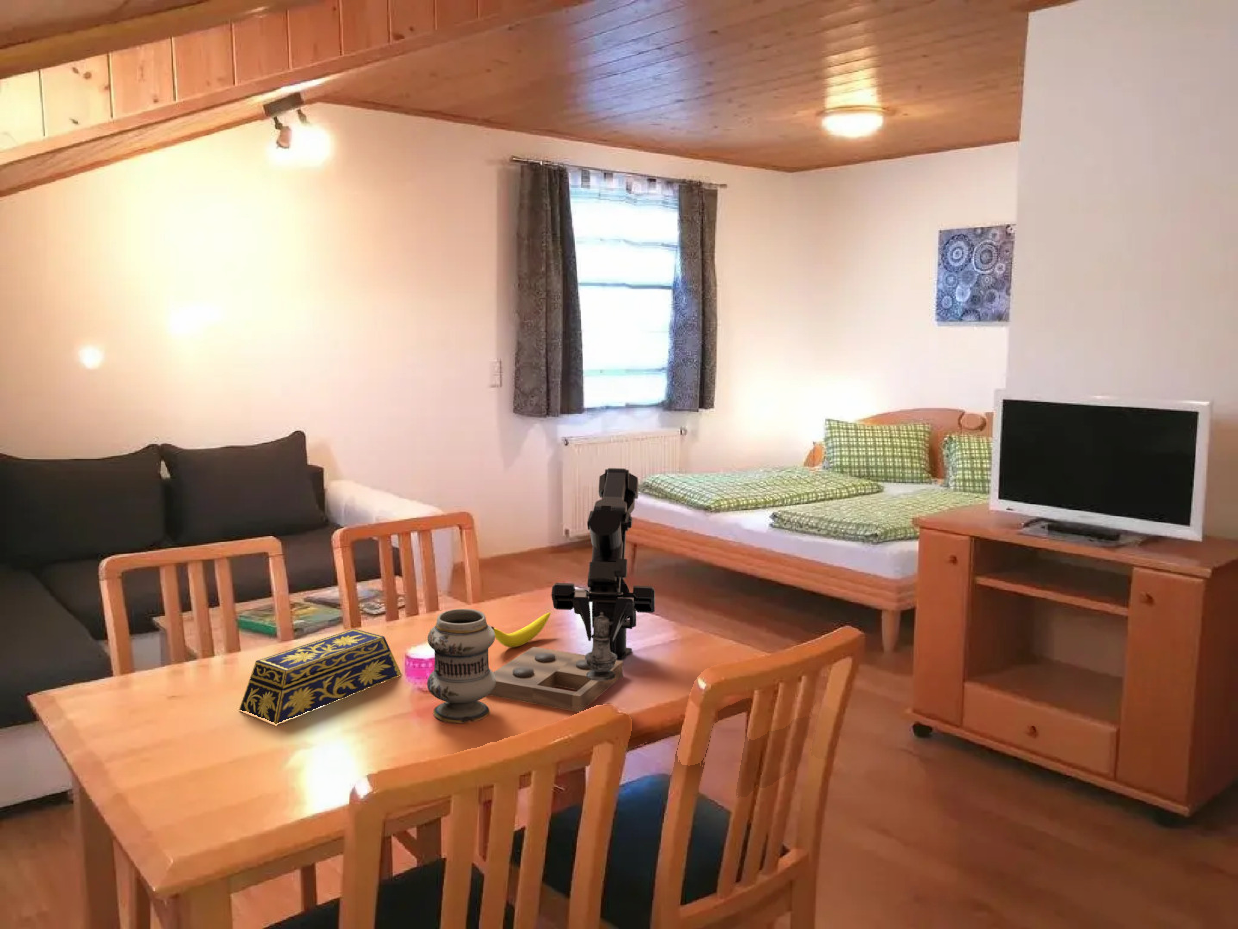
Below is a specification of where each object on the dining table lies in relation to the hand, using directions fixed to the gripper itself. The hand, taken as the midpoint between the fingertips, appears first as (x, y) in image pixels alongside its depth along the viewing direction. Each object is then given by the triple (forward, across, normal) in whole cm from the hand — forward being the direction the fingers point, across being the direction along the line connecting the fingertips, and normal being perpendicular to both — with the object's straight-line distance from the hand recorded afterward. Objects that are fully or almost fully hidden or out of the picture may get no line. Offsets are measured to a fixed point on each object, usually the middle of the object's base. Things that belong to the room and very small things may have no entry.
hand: (600, 640), depth 177 cm
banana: (-14, -20, +34) cm, 42 cm away
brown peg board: (+1, -10, +18) cm, 20 cm away
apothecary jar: (+12, -24, +7) cm, 28 cm away
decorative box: (+8, -52, +12) cm, 54 cm away
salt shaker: (+4, 0, +6) cm, 7 cm away
